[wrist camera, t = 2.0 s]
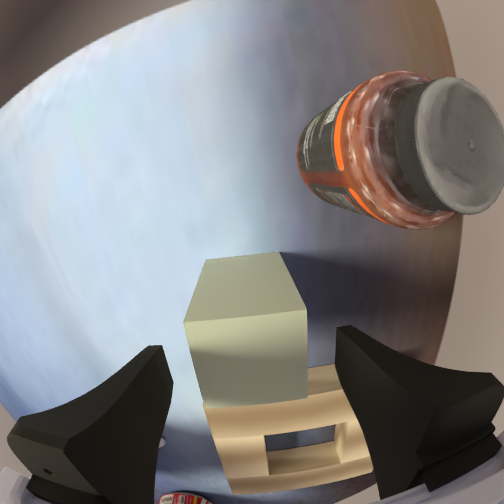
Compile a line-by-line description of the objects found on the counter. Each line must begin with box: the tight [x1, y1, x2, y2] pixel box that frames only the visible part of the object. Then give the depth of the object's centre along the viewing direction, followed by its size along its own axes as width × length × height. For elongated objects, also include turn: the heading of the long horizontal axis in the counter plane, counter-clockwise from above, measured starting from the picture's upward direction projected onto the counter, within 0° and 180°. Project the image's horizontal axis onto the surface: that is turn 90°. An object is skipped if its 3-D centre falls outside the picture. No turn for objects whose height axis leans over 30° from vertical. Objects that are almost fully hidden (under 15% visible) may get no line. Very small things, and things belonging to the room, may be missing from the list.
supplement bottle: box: [297, 71, 504, 230], centre depth 11 cm, size 6×6×11 cm
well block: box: [203, 364, 373, 495], centre depth 21 cm, size 14×14×3 cm
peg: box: [183, 252, 308, 408], centre depth 15 cm, size 4×4×8 cm
